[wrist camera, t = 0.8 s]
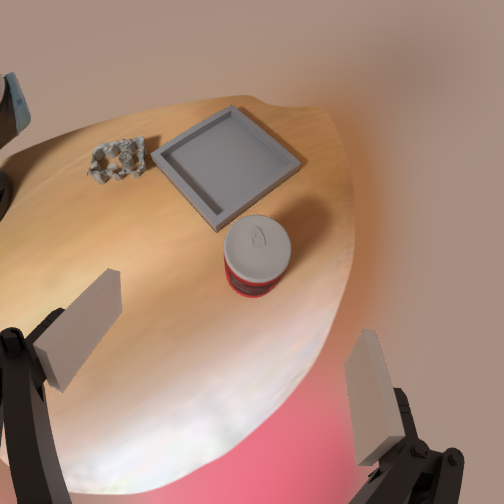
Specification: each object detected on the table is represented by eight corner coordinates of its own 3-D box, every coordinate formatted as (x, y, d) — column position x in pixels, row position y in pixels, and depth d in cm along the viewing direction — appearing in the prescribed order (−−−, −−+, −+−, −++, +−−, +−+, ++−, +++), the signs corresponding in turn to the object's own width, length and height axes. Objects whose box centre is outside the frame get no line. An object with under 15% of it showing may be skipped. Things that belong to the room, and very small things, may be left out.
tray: (153, 162, 48) (150, 153, 46) (231, 113, 53) (231, 104, 51) (216, 233, 45) (215, 226, 42) (298, 171, 49) (301, 162, 47)
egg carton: (92, 187, 46) (83, 175, 43) (98, 154, 49) (91, 142, 45) (146, 179, 47) (140, 166, 44) (150, 146, 50) (145, 132, 46)
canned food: (264, 238, 45) (273, 204, 35) (287, 286, 43) (304, 265, 32) (216, 257, 44) (212, 228, 33) (238, 307, 41) (240, 292, 31)
